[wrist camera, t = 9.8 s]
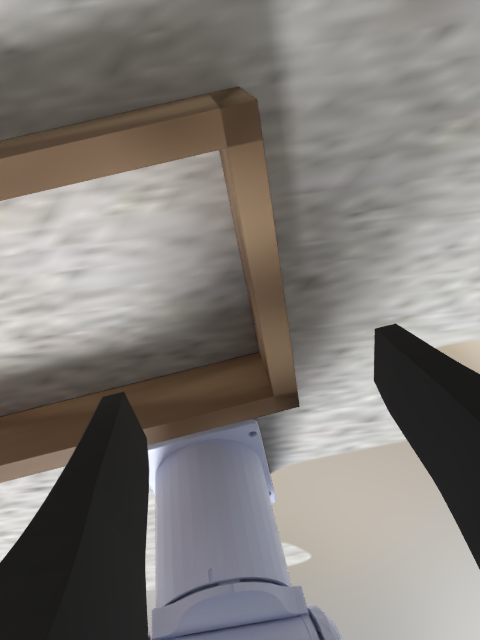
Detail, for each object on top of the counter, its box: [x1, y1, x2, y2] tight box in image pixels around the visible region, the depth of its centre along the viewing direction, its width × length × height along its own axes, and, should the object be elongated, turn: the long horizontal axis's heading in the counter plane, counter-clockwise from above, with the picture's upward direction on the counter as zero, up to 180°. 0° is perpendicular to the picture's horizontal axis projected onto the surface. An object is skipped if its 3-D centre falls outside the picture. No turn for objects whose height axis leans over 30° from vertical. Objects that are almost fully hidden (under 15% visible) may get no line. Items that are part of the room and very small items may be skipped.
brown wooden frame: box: [0, 87, 299, 483], centre depth 19 cm, size 14×17×4 cm
